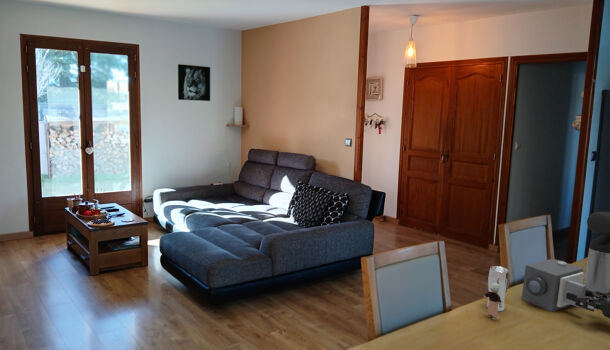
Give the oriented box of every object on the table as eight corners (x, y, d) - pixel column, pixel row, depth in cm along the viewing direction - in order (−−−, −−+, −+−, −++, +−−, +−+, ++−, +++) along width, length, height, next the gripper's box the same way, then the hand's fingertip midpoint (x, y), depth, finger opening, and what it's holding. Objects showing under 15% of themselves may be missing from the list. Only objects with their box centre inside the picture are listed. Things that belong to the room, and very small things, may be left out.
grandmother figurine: (504, 319, 159) (508, 285, 157) (498, 322, 156) (502, 287, 154) (484, 311, 165) (488, 278, 163) (478, 313, 162) (482, 280, 160)
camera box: (548, 291, 186) (553, 256, 184) (579, 302, 176) (584, 266, 173) (517, 300, 175) (521, 263, 173) (547, 313, 165) (552, 274, 163)
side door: (577, 299, 174) (581, 272, 172) (597, 306, 168) (601, 278, 166) (556, 306, 167) (560, 277, 165) (576, 314, 161) (580, 284, 159)
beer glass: (505, 306, 170) (510, 268, 168) (505, 313, 164) (509, 274, 161) (486, 302, 173) (490, 264, 170) (484, 309, 166) (489, 270, 164)
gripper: (634, 296, 154) (585, 280, 167) (613, 304, 146) (563, 286, 160) (631, 317, 155) (582, 299, 169) (609, 326, 148) (560, 306, 161)
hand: (573, 293), depth 164 cm, fingers open, 8 cm apart
